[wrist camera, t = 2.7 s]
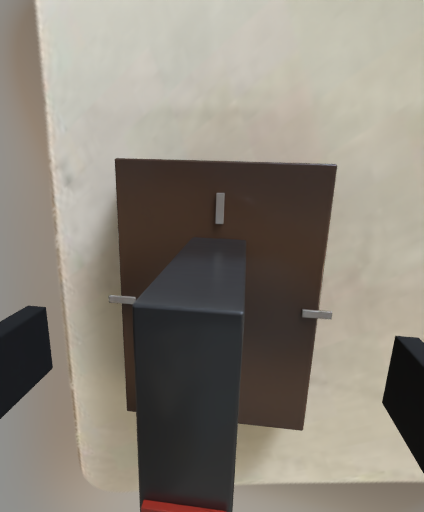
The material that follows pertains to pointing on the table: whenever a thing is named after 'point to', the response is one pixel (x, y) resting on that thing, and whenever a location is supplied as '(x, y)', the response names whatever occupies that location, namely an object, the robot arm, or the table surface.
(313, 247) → the lever panel
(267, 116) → the table surface
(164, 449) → the dark grey upright block
